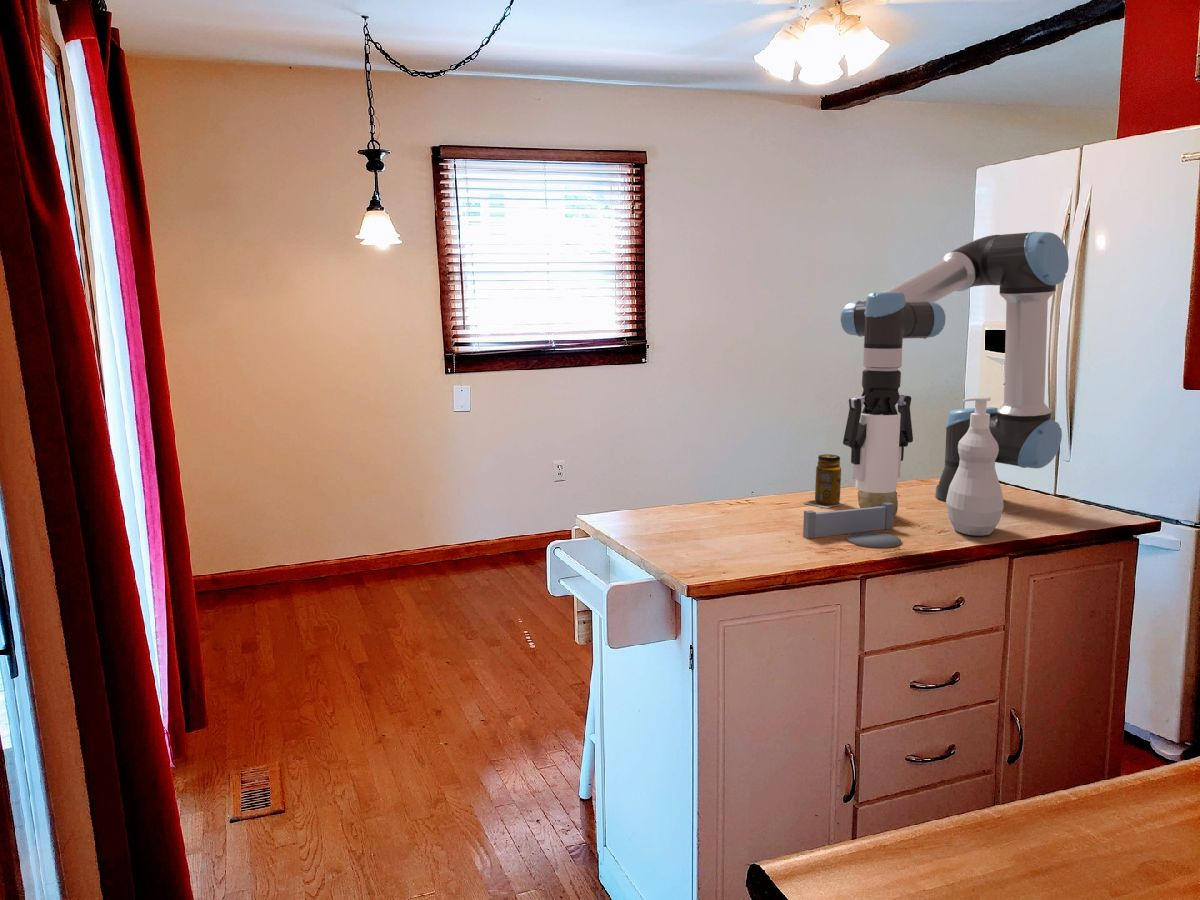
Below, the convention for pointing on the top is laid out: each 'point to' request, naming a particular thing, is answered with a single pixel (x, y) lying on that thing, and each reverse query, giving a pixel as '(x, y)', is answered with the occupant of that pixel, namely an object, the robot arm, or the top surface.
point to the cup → (880, 453)
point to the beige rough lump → (877, 499)
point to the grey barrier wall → (848, 521)
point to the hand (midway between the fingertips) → (876, 478)
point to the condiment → (827, 482)
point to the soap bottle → (976, 478)
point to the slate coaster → (874, 540)
